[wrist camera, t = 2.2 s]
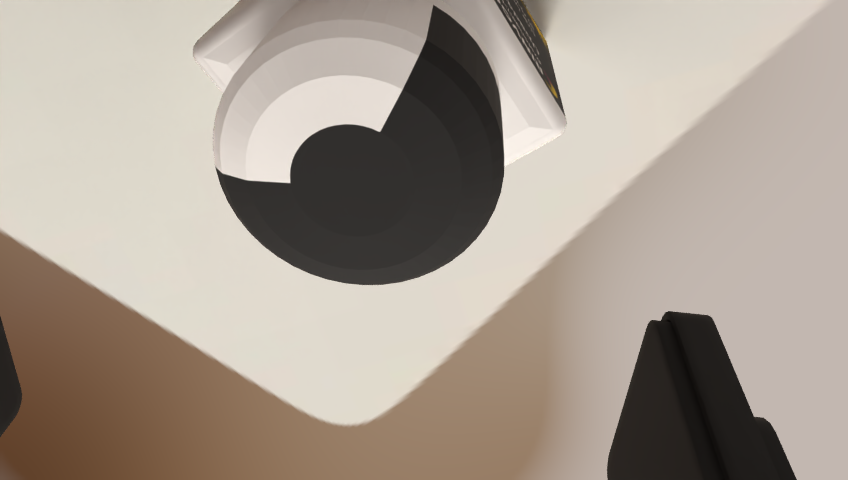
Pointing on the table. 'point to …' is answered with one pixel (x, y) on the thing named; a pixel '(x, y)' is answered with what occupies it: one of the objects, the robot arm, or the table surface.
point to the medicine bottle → (375, 126)
